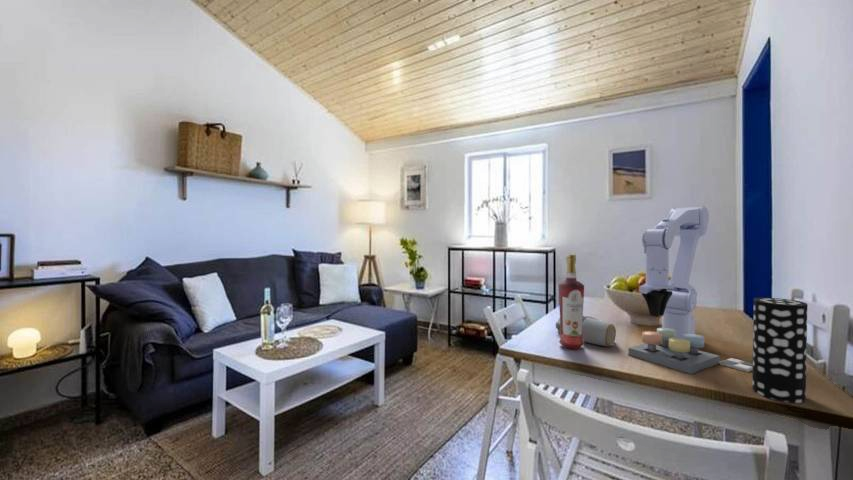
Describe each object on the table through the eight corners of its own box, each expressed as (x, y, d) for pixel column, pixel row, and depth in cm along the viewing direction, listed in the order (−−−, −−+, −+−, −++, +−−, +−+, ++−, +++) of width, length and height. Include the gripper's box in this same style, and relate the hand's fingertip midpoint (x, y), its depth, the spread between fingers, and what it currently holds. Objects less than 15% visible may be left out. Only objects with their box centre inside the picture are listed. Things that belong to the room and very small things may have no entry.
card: (730, 360, 100) (730, 357, 100) (759, 367, 95) (759, 364, 95) (719, 364, 97) (719, 361, 97) (748, 372, 92) (748, 369, 92)
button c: (648, 347, 106) (648, 330, 106) (665, 351, 102) (665, 334, 102) (638, 350, 104) (638, 332, 104) (655, 354, 100) (655, 337, 100)
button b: (688, 349, 103) (688, 332, 103) (707, 354, 99) (707, 336, 99) (679, 352, 101) (679, 335, 101) (698, 357, 97) (698, 339, 97)
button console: (657, 346, 112) (657, 339, 112) (719, 363, 98) (719, 355, 98) (628, 354, 105) (628, 347, 105) (691, 373, 91) (691, 365, 91)
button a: (662, 343, 109) (662, 327, 109) (679, 347, 105) (679, 330, 105) (653, 345, 107) (653, 329, 107) (670, 350, 103) (670, 333, 103)
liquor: (563, 351, 109) (563, 255, 108) (554, 343, 116) (554, 254, 115) (588, 350, 109) (588, 255, 108) (578, 343, 116) (578, 253, 115)
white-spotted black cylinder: (742, 386, 84) (743, 298, 83) (776, 384, 84) (777, 297, 84) (780, 404, 75) (782, 306, 75) (817, 401, 76) (819, 304, 75)
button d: (674, 354, 100) (674, 336, 100) (693, 359, 96) (693, 341, 96) (664, 357, 98) (665, 339, 97) (684, 362, 94) (684, 344, 93)
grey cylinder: (607, 350, 110) (608, 324, 109) (580, 344, 115) (580, 319, 115) (621, 342, 117) (621, 318, 117) (594, 337, 123) (594, 314, 123)
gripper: (656, 272, 102) (656, 321, 103) (685, 269, 109) (684, 314, 110) (632, 270, 108) (631, 316, 109) (660, 267, 115) (660, 310, 116)
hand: (656, 315), depth 110 cm, fingers closed
